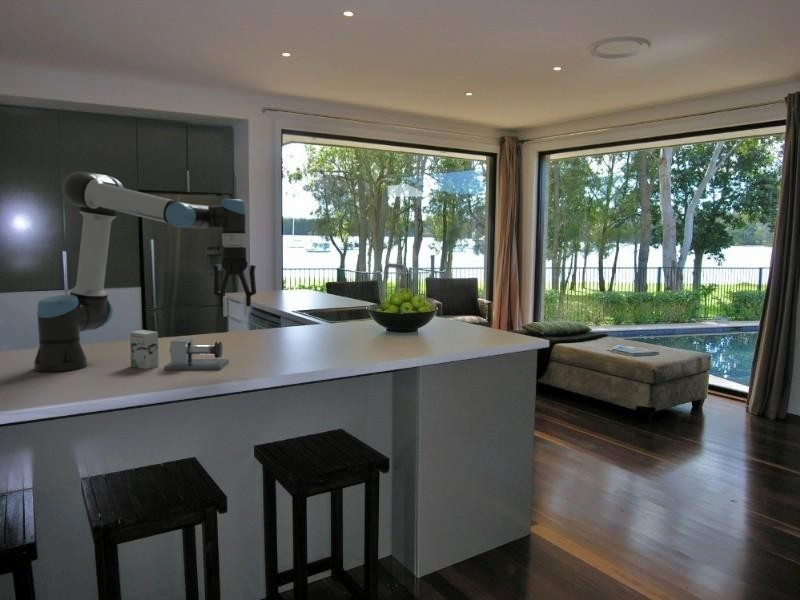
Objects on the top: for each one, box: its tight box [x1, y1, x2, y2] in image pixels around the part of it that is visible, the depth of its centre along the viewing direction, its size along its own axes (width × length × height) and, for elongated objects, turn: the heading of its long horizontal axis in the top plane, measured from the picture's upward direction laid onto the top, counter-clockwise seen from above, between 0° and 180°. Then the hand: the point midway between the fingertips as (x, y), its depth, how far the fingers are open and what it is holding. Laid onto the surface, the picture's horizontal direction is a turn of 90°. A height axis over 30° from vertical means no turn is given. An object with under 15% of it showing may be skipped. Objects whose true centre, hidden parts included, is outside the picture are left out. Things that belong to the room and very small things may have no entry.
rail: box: [163, 337, 230, 371], centre depth 201 cm, size 18×12×9 cm, turn 93°
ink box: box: [129, 329, 159, 370], centre depth 200 cm, size 9×5×12 cm, turn 60°
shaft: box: [169, 340, 223, 359], centre depth 201 cm, size 16×6×6 cm, turn 93°
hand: (235, 315), depth 201 cm, fingers open, 6 cm apart
